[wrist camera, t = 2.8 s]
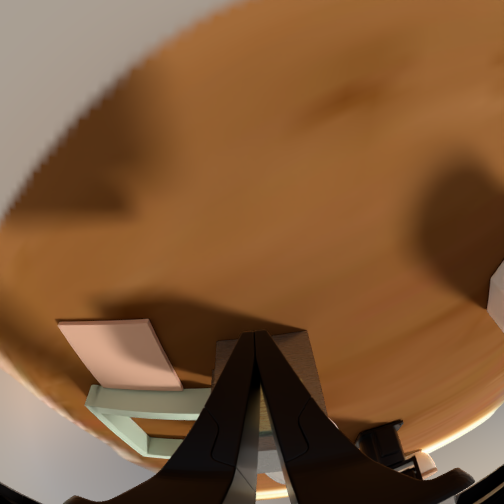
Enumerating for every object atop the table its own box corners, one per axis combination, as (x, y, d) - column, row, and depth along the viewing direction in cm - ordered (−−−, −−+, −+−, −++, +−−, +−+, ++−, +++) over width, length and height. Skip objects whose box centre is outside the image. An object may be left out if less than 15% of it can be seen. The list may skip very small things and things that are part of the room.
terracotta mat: (183, 386, 21) (182, 390, 20) (104, 383, 21) (102, 387, 21) (148, 318, 17) (147, 323, 16) (59, 321, 17) (57, 325, 17)
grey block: (305, 372, 20) (323, 464, 13) (226, 381, 20) (225, 474, 14) (307, 326, 18) (334, 438, 11) (210, 337, 18) (203, 450, 11)
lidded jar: (426, 443, 41) (437, 476, 33) (431, 448, 46) (441, 476, 38) (385, 464, 44) (393, 496, 36) (394, 466, 49) (402, 494, 41)
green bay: (220, 387, 21) (219, 413, 19) (244, 442, 28) (244, 459, 25) (91, 384, 21) (84, 405, 19) (145, 440, 28) (143, 456, 26)
